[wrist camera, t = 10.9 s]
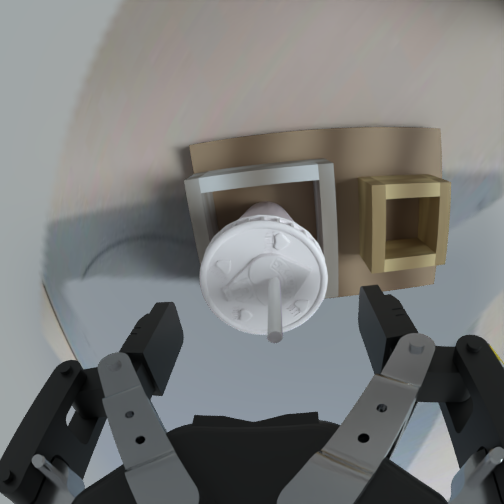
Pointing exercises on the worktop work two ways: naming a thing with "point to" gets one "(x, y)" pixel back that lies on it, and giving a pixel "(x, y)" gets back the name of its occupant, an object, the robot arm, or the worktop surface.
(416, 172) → the fitting board
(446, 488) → the worktop surface
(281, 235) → the smoothie
